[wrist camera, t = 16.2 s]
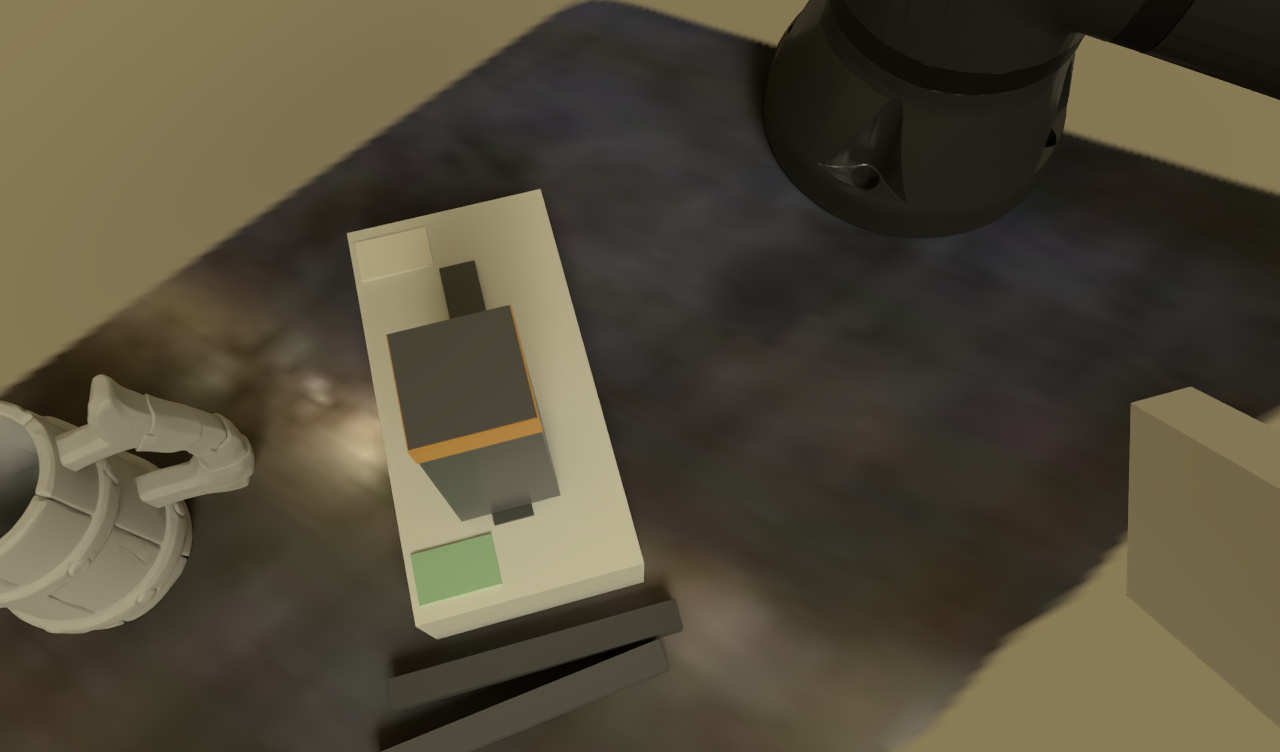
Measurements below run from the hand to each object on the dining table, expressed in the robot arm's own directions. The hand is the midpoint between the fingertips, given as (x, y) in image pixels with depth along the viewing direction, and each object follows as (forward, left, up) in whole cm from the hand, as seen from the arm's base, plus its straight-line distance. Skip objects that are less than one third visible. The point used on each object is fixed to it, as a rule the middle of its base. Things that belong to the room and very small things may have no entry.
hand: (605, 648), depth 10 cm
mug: (+18, -14, -29) cm, 37 cm away
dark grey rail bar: (+3, -4, -29) cm, 29 cm away
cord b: (+4, -2, -29) cm, 29 cm away
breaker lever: (+2, -11, -25) cm, 27 cm away
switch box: (+2, -15, -29) cm, 33 cm away
